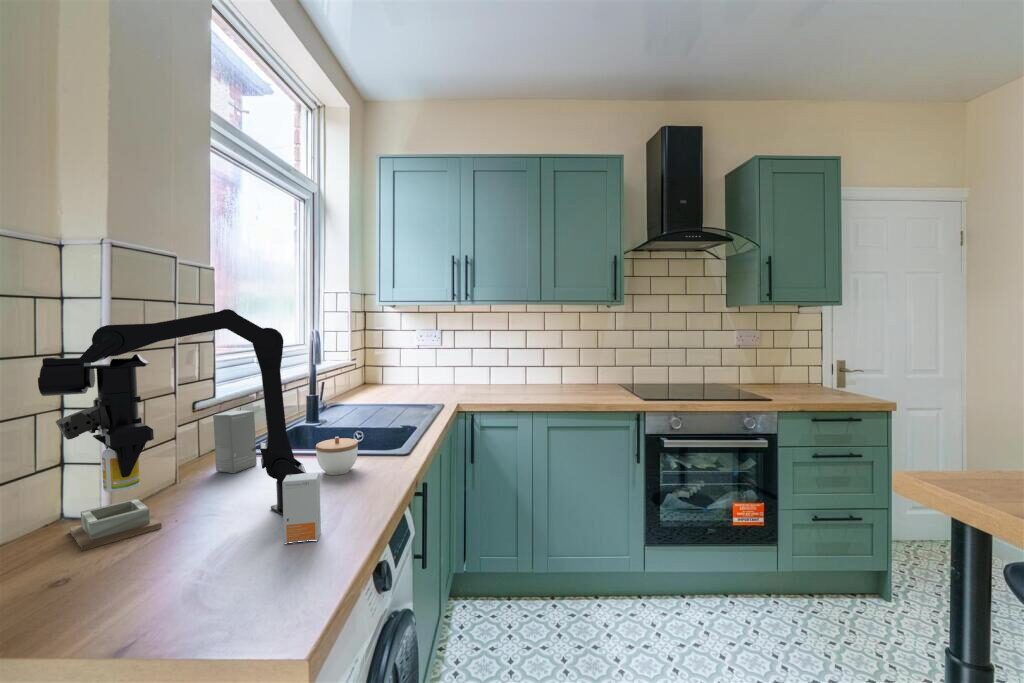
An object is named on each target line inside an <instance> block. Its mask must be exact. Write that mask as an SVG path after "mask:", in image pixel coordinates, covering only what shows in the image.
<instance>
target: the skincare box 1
mask: <svg viewBox="0 0 1024 683" xmlns="http://www.w3.org/2000/svg"><path fill="white" fill-rule="evenodd" d="M212 419H213V434H214V436H213V437H214V453H215V454H214V456H215V458H214V459H215V471H216V472H220V473H230V474H237V473H238V472H241V471H244V470H246V469H250V468H251V467H255V466H257V465H258V462H257V461H258V460H257V445H256V443H257V442H256V427H255V426H256V423H255V410H233V411H226V412H220V413H216V414H213V415H212Z"/></svg>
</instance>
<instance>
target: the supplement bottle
mask: <svg viewBox="0 0 1024 683" xmlns="http://www.w3.org/2000/svg"><path fill="white" fill-rule="evenodd" d="M101 465H102V466H101V467H102V471H101V472H102V486H103V491H104V492H106V493H107V492H108V493H117V492H123V491H129V490H131V489H134V488H136V487H138V486H139V485H140V484H141V482H140V481H141V478H140V476H141V474H140V456H139V457H138V459H137V461H136V464H135V466H134V468H133V470H132V472H131V474H130V476H129V477H124V478H123V477H122V476H121V473H120V470H119V466H118V462H117V459H116V455H115V451H113V450H112V449H110V448H108V449H106V448H105V449H104V450H103V451H102V453H101Z"/></svg>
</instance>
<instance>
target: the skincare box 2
mask: <svg viewBox="0 0 1024 683" xmlns="http://www.w3.org/2000/svg"><path fill="white" fill-rule="evenodd" d="M282 486H283V515H282V522H283V523H282V525H283V544H284V543H289V542H298V541H307V540H308V541H309V540H318V541H319V538H318V537H320V534H321V532H322V528H321V527H322V526H321V525H322V524H321V523H322V522H321V521H322V520H321V519H322V518H321V513H322V512H321V473H320V472H306V473H302V474H294V475H286V477H285V479H284V480H283V482H282Z"/></svg>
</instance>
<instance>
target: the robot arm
mask: <svg viewBox="0 0 1024 683" xmlns="http://www.w3.org/2000/svg"><path fill="white" fill-rule="evenodd" d="M219 330H228V331H229V332H232V333H233V334H235V335H237V336H239V337H240V338H242V339H244V340H246V341H248V342H250V343H251V344H252V347H253V349H254V353H255V357H256V359H257V360H256V361H257V363H258V365H259V366H258V367H259V370H260V375H261V383H262V391H263V404H264V412H265V422H266V432H267V433H266V442H260V443H259V450H260V453H261V454H260V455H261V458H260V463H261V464H260V465H261V468H262V469H263V470H264V469H265V471H266V474H267V476H269V477H270V478H272V479H273V480H274V479H275V480H276V483H275V484H276V504H274V505H271V506H270V509H271V510H272V511H274V512H276V513H277V514H279V513H280V515H281V516H283V486H282V482H283V480H284V479H285V477H286V475H294V474H302V473H307V472H306V470H305V467H304V465H303V463H302V462H300V461H299V460H298V459H297V458H295V455H294V453H293V449H292V447H291V442H290V440H289V436H288V434H287V433H288V432H287V424H286V414H285V406H284V396H283V386H282V373H281V367H282V359H283V350H284V337H283V335H282V333H281V332H280V331H278V330H277V329H275V328H273V327H270V326H269V327H261V326H259V325H258V324H256V323H254V322H252V321H250V320H248V319H247V318H245V317H243V316H241V315H239V314H238V313H237V312H236V311H235V310H233V309H229V308H224V309H221V310H220V311H216V312H208V313H204V314H198V315H193V316H187V317H183V318H182V317H181V318H177V319H171V320H165V321H158V322H154V323H153V322H152V323H124V324H123V323H121V324H120V323H119V324H107V325H102V326H100V327H99V328H97V329H96V330H95V332H94V333H93V334H92V337H91V343H92V344H90V346H89V347H88V348H87V349H86V350H85V352H83V353H82V354H81V355H80V357H57V356H55V357H53V356H52V357H44V358H42V365H41V367H40V370H39V377H37V386H38V391H39V393H40V395H41V396H42V397H50V396H51V397H52V396H53V397H54V396H66V395H67V396H69V395H71V396H72V395H84V394H87V393H88V390H89V388H92V389H93V388H94V387H95V384H96V383H97V385H96V386H97V397H94V398H95V399H93V406H90V407H88V408H85V409H83V410H80V411H77V412H74V413H72V414H69V415H66V416H64V417H62V418H59V419H57V420H56V421H55V424H56V425H57V427H58V429H59V431H60V432H61V433H62V435H63V438H65V439H66V440H68V441H69V440H73V439H75V438H78V437H79V436H80V435H82V434H85V433H86V432H88V433H90V434H93V435H92V437H93V438H94V439H95V440H97V441H99V442H100V443H102V444H103V445H104V447H105V450H106V449H108V448H110V449H112V450H113V451H115V455H116V459H117V462H118V466H119V470H120V473H121V476H122V477H123V478H124V477H129V476H130V474H131V472H132V470H133V468H134V466H135V464H136V461H137V459H138V457H139V458H140V455H141V454H142V452H143V449H144V448H145V446H146V444H147V443H148V442H149V441H153V440H155V439H154V435H155V434H154V429H153V428H152V427H151V426H148V425H147V424H145V423H142V417H141V416H139V402H140V403H141V401H142V400H141V399H142V398H141V395H138V382H137V368H143V367H147V366H149V364H150V362H149V361H148V360H146V359H144V358H143V357H142V356H141V354H139V353H136V354H134V355H133V356H132V357H127V358H126V357H124V358H123V357H121V358H112V359H111V360H110V362H109V363H107V364H92V363H96V362H99V361H103V360H106V359H108V358H109V357H119V356H121V355H124V354H129V353H130V352H134V351H136V350H139V349H142V348H144V347H148V346H150V345H152V344H156V343H158V342H163V341H168V340H172V339H173V340H174V339H180V338H183V337H184V338H185V337H187V336H193V335H200V334H204V333H208V332H209V333H210V332H213V331H214V332H215V331H219ZM95 371H96V374H95ZM96 431H97V434H95V433H96Z"/></svg>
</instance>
